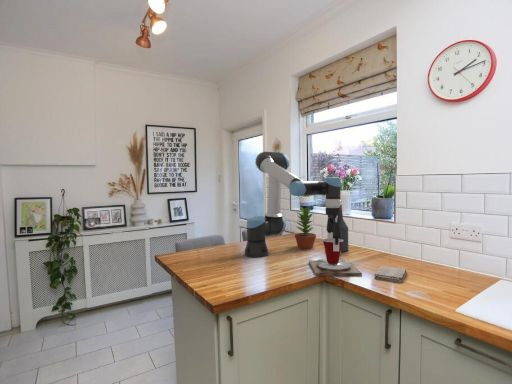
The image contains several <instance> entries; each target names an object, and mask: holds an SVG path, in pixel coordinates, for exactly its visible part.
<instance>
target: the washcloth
mask: <svg viewBox="0 0 512 384" xmlns="http://www.w3.org/2000/svg"><path fill="white" fill-rule="evenodd" d="M406 274H407V269H406V268H403V267H391V266H385V265H381V266H380V267H379V268H378V270H377V271H376V272H375V273H374V279H377V280H381V281H387V282H393V283H402V282H403V280H404V278H405V276H406Z"/></svg>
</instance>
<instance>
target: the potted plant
mask: <svg viewBox="0 0 512 384" xmlns="http://www.w3.org/2000/svg"><path fill="white" fill-rule="evenodd" d="M298 206H299V205H298ZM311 206H312V204H310V205H308V206H306V207H305V208H304V207H303V206H299V207H298V208H299V209H300V211H301V213H300V212H298V211H296V213H297V217H298V218H299V220H298V219H297V221H298V222H296V224H297V225H299V226H296V225H295V227H296V228H297V229H298V230H300V231H301V232H299V233H298V232H297V233H295V234H294V238H295V241H296V246H297V248H298V249H301V250H312V249H314V245H315V241H316V238H317V234H316V233H312V232H310V231H312V230H313V229H314V228H315V226H313V227H312V225H311V224H310V223H312V222H313V220H310V219H311V217H313V213H310V212H311V211H312V210H311V209H312V208H311Z"/></svg>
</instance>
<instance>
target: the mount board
mask: <svg viewBox="0 0 512 384" xmlns="http://www.w3.org/2000/svg"><path fill="white" fill-rule="evenodd" d="M308 264H309V266H310V268H311V270H312V272H313V273H314V276H315V277H362V276H363V273H362V272H361V270H359V268H357V267H356V266H355V265H354V264H353V263H352V262H351V261H350V260H346V259H342V258H339V262H338V263H336V264H332V263H328V262H327V258H326V257H325V258H324V257H323V258H320V259H317V260H308Z"/></svg>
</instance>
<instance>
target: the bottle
mask: <svg viewBox="0 0 512 384" xmlns="http://www.w3.org/2000/svg"><path fill="white" fill-rule="evenodd" d="M340 208H341V214H340V215H337V218H339V228H340V236H341V237H340V238H339V239H341V240H343V242H342V246H341V252H340V253H344V252H348V251H349V227H348V225H347V223H346V221H345V220H344V217H343V205H342V204H341V206H340ZM331 233H333V232H331ZM333 236H334V235H333Z"/></svg>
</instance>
